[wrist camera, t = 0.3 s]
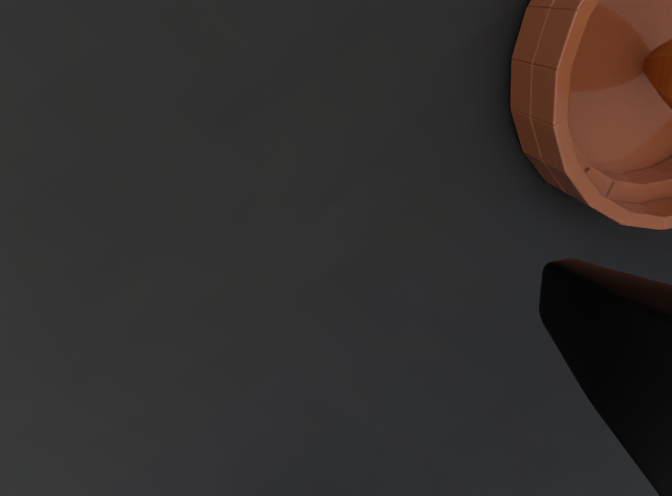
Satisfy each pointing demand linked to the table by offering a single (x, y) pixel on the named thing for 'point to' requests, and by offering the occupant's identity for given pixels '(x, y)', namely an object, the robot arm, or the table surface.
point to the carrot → (660, 70)
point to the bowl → (596, 105)
